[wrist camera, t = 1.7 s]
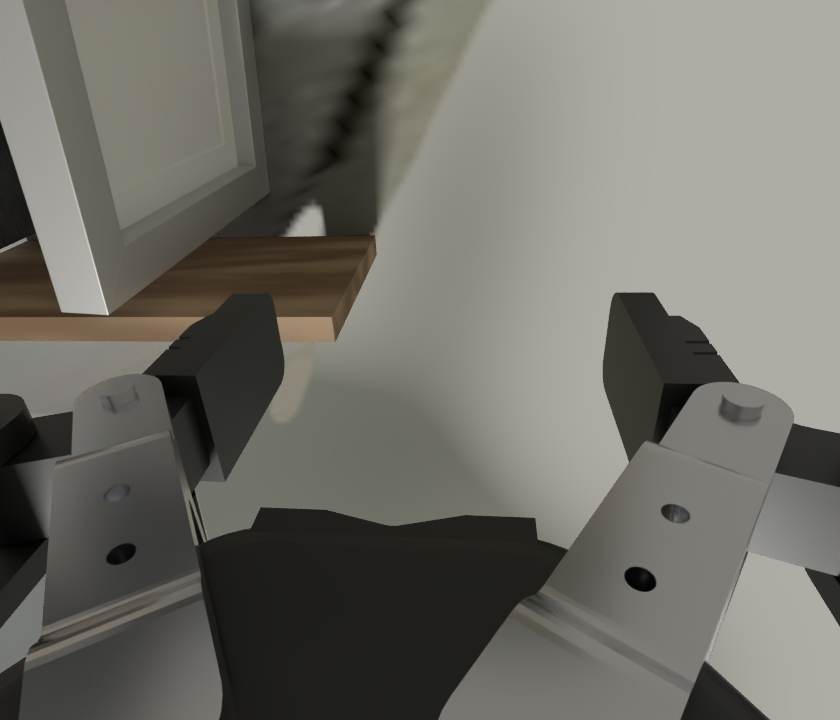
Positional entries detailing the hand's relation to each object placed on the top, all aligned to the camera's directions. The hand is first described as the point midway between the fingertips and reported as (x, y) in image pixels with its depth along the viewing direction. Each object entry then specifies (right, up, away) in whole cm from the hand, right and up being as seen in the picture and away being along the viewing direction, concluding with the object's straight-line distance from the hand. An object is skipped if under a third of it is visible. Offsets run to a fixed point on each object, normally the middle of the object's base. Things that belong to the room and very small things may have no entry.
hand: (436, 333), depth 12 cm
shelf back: (-18, +8, +32) cm, 37 cm away
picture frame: (-13, +19, +26) cm, 34 cm away
